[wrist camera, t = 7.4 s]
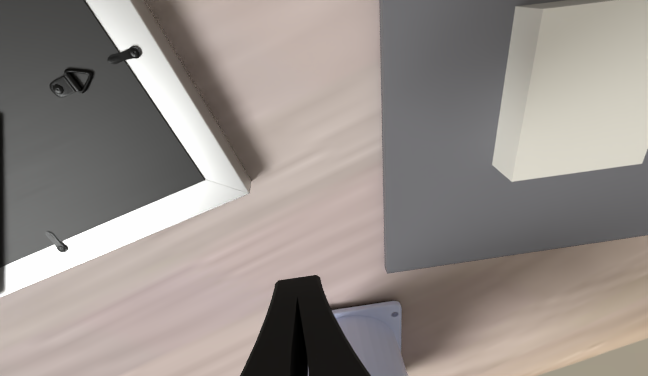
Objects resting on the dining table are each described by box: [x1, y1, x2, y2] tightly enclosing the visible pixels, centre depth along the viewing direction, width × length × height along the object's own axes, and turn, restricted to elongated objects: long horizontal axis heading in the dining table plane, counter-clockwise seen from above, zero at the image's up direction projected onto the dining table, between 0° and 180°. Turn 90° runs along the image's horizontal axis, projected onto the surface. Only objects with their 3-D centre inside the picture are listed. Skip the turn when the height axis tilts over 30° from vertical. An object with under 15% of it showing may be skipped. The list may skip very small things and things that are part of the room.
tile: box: [492, 0, 648, 182], centre depth 18 cm, size 8×2×7 cm
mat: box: [380, 0, 648, 274], centre depth 19 cm, size 22×18×1 cm
